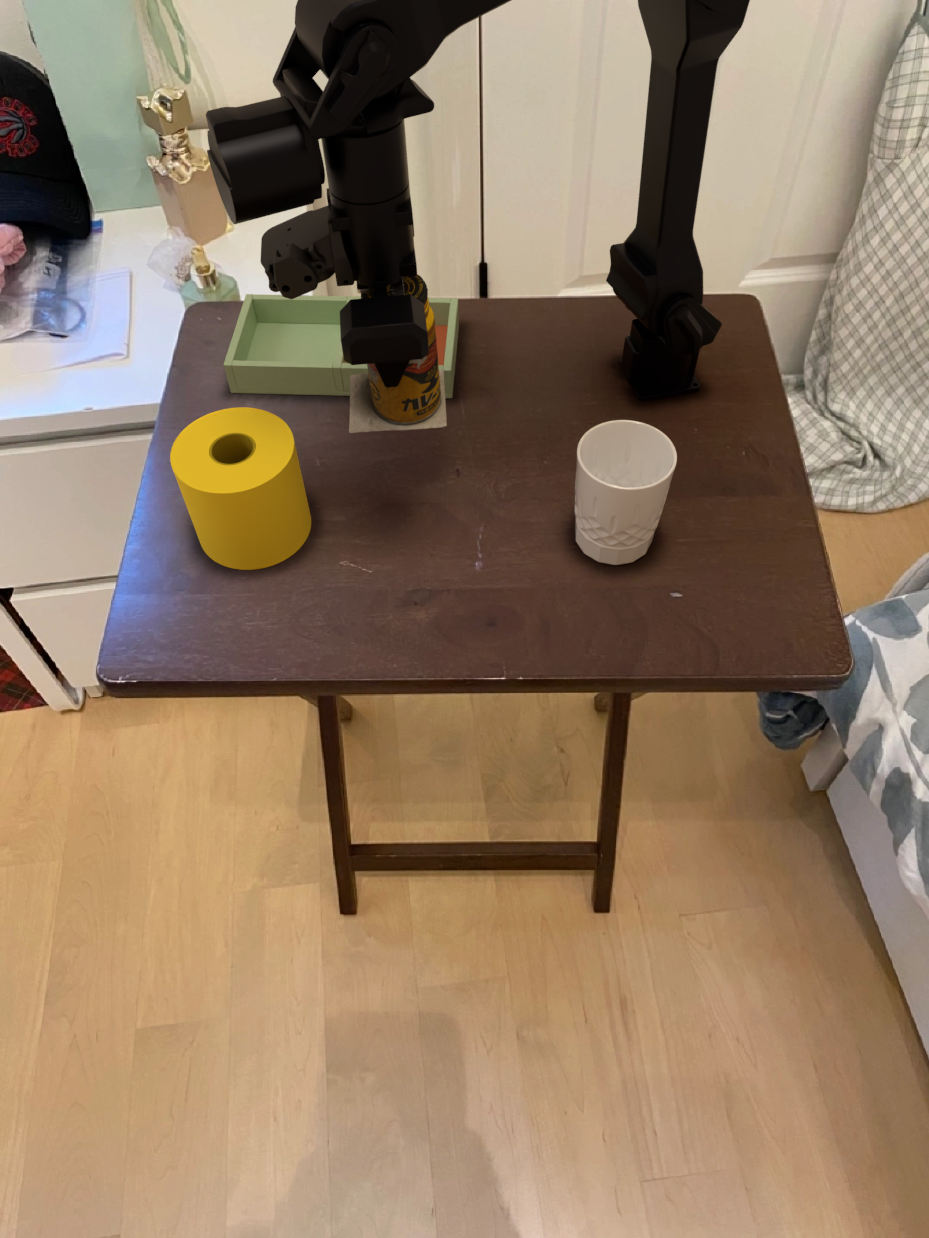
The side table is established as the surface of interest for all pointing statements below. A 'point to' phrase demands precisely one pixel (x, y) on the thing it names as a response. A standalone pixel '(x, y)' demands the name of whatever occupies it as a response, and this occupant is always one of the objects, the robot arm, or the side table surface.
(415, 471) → the side table surface
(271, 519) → the yellow toilet paper roll
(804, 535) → the side table surface
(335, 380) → the holder
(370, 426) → the condiment
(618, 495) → the white cup
